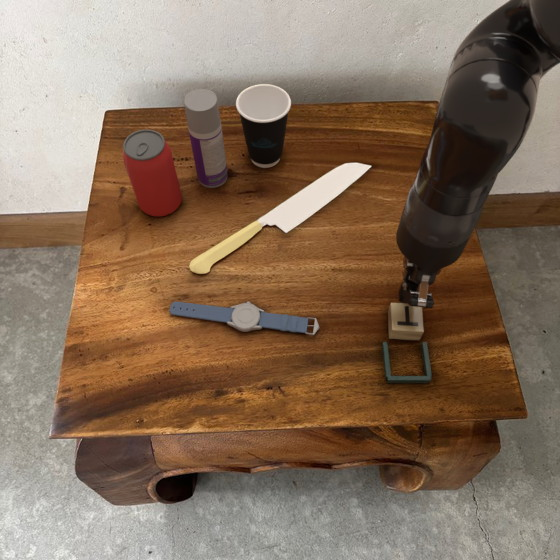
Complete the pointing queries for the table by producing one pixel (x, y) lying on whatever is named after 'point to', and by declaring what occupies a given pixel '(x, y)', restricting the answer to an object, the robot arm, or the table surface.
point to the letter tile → (405, 322)
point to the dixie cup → (264, 122)
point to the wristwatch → (244, 317)
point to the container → (206, 137)
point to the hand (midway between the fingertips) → (406, 297)
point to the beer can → (152, 172)
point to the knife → (286, 212)
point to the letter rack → (407, 378)
